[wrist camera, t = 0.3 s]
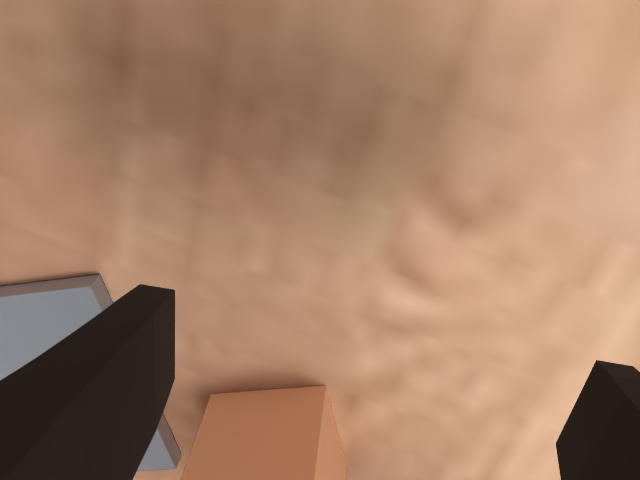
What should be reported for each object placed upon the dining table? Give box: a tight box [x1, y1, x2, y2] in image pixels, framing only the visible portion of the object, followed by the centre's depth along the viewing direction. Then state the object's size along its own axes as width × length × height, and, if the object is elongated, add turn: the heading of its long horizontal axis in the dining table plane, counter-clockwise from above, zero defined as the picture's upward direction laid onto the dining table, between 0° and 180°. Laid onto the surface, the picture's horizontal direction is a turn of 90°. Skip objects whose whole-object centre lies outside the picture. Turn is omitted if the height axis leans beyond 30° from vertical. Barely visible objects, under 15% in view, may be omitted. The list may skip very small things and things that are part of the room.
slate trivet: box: [0, 274, 181, 471], centre depth 25 cm, size 10×10×1 cm
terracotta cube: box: [181, 385, 347, 480], centre depth 23 cm, size 5×5×5 cm
